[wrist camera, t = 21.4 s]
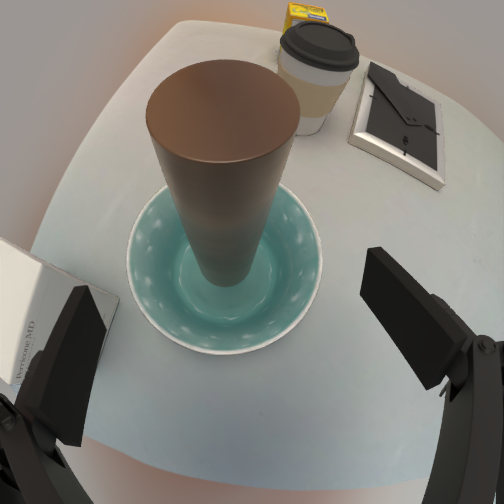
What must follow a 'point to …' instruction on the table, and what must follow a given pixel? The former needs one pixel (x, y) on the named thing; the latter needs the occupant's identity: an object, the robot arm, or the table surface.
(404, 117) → the picture frame
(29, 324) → the white product box
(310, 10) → the supplement box
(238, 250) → the tall brown cylinder
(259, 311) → the bowl
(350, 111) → the table surface
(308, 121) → the coffee cup
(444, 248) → the table surface
